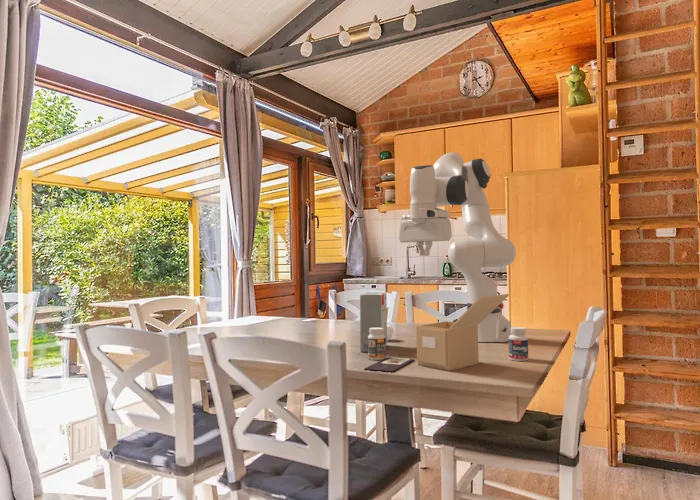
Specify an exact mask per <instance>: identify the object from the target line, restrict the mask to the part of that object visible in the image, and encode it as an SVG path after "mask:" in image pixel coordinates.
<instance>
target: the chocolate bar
mask: <svg viewBox="0 0 700 500" xmlns="http://www.w3.org/2000/svg"><path fill="white" fill-rule="evenodd" d="M413 362H415V358H402V357H391V356H390V357H389V356H388V357H386V358H385V359H383V360H378V361H377V362H375V363H372V364H371V365H368V366H367V367H365V368H364V369H363V370H364V371H366V370H370V371H369V372H377V371H381V372H380V373H388V372H391V373H390V374H394V373H395V372H397V371H399V370H401V369H403V368H405V367H406V366H408V365H410V364H412V363H413ZM393 372H394V373H393Z"/></svg>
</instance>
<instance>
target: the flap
mask: <svg viewBox="0 0 700 500" xmlns="http://www.w3.org/2000/svg"><path fill="white" fill-rule="evenodd" d="M509 296H510V294H509V293H503V294H497V295H494V296H485V297H480V298H479V299H478V300H477V301H476V302H475V303H474V304H473V305H472V306H471V307H470V308H469V309H468V310H467V309H466V311H465V312H463V314H462V315H460V316H459V317H458V318H457V320H456V321H454V322H455V323H454V324H453V325H452V326H451V327H450V328H451V329H453V328H459V327H464V326H470V325H476V324H480V323H481V322H482V321H483V320H484V319H485V318H486V317H487V316H488V315H489V314H490V313H491V312H492V311H493V310H494V309H495V308H496V307H497V306H498V305H500V304H501V303H503V302H504V301H505V300H506V299H507V298H508V297H509Z"/></svg>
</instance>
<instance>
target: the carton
mask: <svg viewBox="0 0 700 500" xmlns="http://www.w3.org/2000/svg"><path fill="white" fill-rule="evenodd" d="M455 322H456V321H449V320H445V321H439V322H432V323H425V324H419V325H417V326H416V329H415V330H416V360H417V365H418V366H421V367H426V368H430V369H437V370H442V371H448V372H452V371H455V370H459V369H462V368H463V369H464V368H468V367H471V366H476V365H479V363H480V362H479V342H478V324H476V325H470V326H464V327H459V328H453V329H451V328H450V327H451V326H452V325H453V324H454V323H455Z"/></svg>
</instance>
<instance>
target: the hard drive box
mask: <svg viewBox="0 0 700 500" xmlns="http://www.w3.org/2000/svg"><path fill="white" fill-rule="evenodd" d="M387 306H388V303H387V292H383V291H382V292H379V291H378V292H376V291H375V292H374V291H373V292H365V293H362V294H360V296H359V338H360V339H359V350H360V351H359V352H364V353H365V352H367V353H368V336H369V335H370V332H369V328H375V327H379V328H383V329H384V332H383V335H385V342H386V347H387V346H388V341H387V325H388V322H387V321H388V317H387V315H388V314H387V311H388V309H387Z"/></svg>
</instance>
